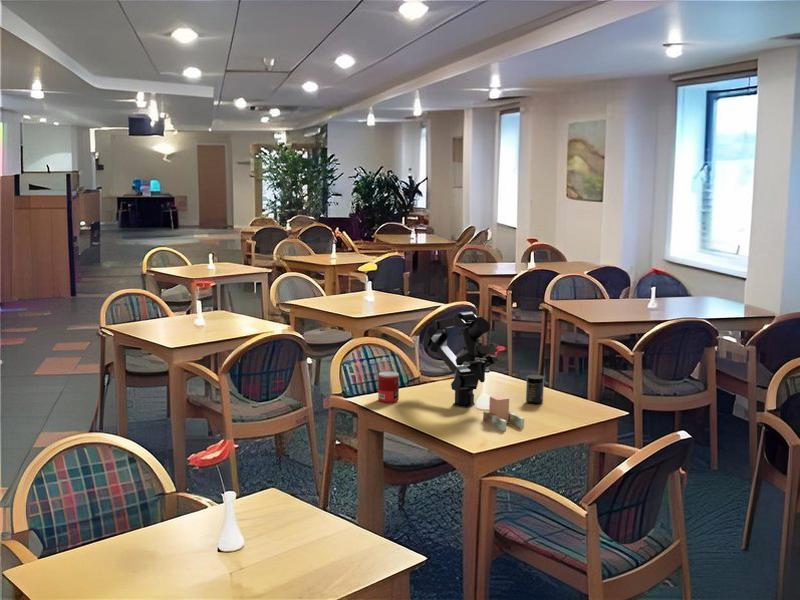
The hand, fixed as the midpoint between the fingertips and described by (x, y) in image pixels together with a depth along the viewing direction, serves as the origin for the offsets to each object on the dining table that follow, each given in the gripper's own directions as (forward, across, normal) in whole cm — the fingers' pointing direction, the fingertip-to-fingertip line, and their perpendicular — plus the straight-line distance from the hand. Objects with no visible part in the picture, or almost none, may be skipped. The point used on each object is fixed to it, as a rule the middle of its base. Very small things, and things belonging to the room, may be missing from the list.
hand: (482, 382), depth 312 cm
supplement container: (+8, +29, -1) cm, 30 cm away
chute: (+18, -2, -5) cm, 19 cm away
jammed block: (+16, -1, -3) cm, 17 cm away
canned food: (-6, -10, +39) cm, 41 cm away
